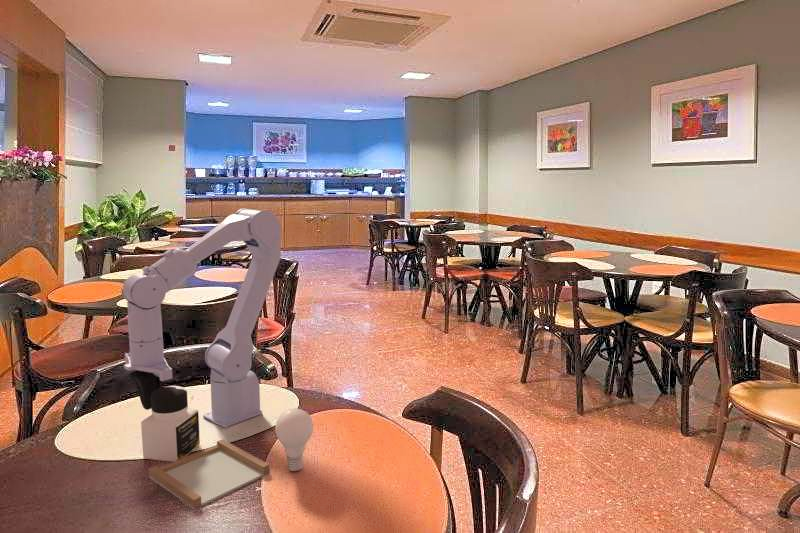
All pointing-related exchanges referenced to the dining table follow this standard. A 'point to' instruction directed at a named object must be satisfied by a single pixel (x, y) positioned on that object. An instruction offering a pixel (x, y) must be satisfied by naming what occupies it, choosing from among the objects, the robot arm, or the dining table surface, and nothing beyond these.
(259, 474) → the wooden serving tray
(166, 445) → the medicine bottle
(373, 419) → the dining table surface
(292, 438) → the lightbulb
